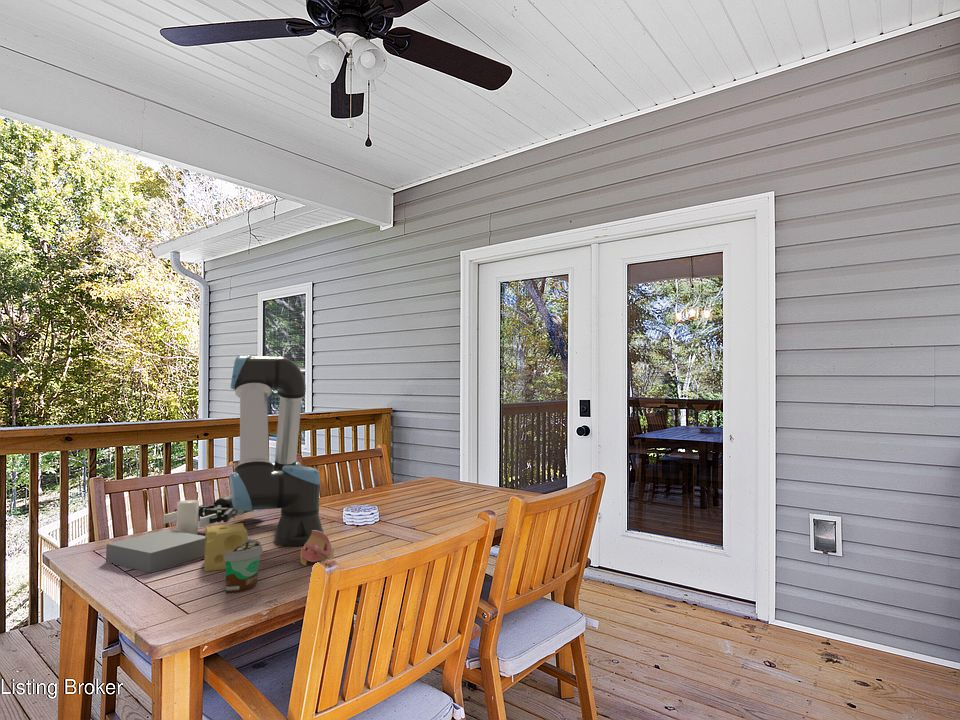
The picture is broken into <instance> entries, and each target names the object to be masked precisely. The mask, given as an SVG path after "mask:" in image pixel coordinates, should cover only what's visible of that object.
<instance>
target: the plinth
mask: <svg viewBox="0 0 960 720" xmlns="http://www.w3.org/2000/svg"><path fill="white" fill-rule="evenodd" d="M105 551H106V552H105V563H106V562H109V563H108V564H110V563H113V564H112V565H115V564H117V565H116V566H119V565H121V566H120V567H123V566H125V567H124V568H128V567H129V569H133V570H136V571H141V572H146V573H148V574H149V573H153V572H157V571H160V570H163V569H166V568H170V567H173V566H176V565H179V564H182V562H183V563H185V562H189V561H192V560H195V559H198V558H201V557H204V553H205V535H200V534H197V535H195V534H190V533H184V532H179V531H176V530H172V529H167V528H166V529H163V530H159V531H154V532H151V533H146V534H142V535H138V536H134V537H130V538H125V539H121V540H117V541H113V542H110V543H106V550H105ZM175 564H176V565H175ZM172 565H173V566H172ZM169 566H170V567H169Z"/></svg>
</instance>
